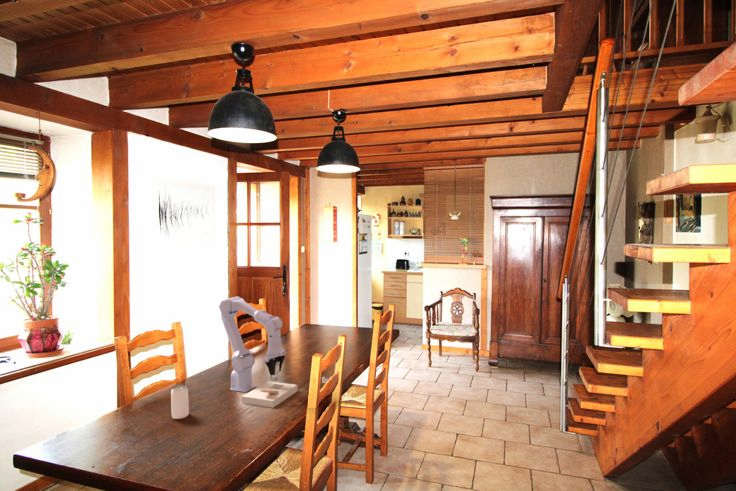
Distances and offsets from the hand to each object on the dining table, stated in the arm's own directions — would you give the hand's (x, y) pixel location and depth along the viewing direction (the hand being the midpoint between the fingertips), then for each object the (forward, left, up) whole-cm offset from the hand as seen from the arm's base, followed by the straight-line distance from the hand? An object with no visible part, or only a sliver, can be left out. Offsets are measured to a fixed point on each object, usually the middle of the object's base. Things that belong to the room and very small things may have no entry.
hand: (275, 373), depth 200 cm
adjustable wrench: (+16, +13, -10) cm, 23 cm away
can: (-24, -34, -10) cm, 42 cm away
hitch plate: (0, -5, -9) cm, 10 cm away
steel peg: (0, 0, -3) cm, 3 cm away
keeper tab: (+3, -10, -5) cm, 11 cm away
